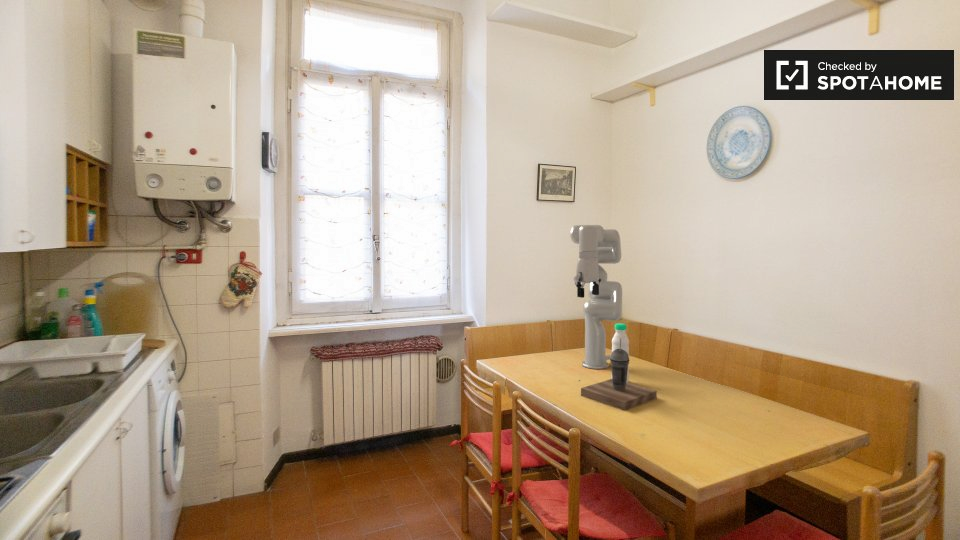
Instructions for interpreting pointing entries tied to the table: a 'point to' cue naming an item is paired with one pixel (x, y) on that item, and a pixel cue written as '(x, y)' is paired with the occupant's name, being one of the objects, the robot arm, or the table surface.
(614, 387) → the beverage cup
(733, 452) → the table surface
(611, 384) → the walnut base board
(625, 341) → the water bottle
